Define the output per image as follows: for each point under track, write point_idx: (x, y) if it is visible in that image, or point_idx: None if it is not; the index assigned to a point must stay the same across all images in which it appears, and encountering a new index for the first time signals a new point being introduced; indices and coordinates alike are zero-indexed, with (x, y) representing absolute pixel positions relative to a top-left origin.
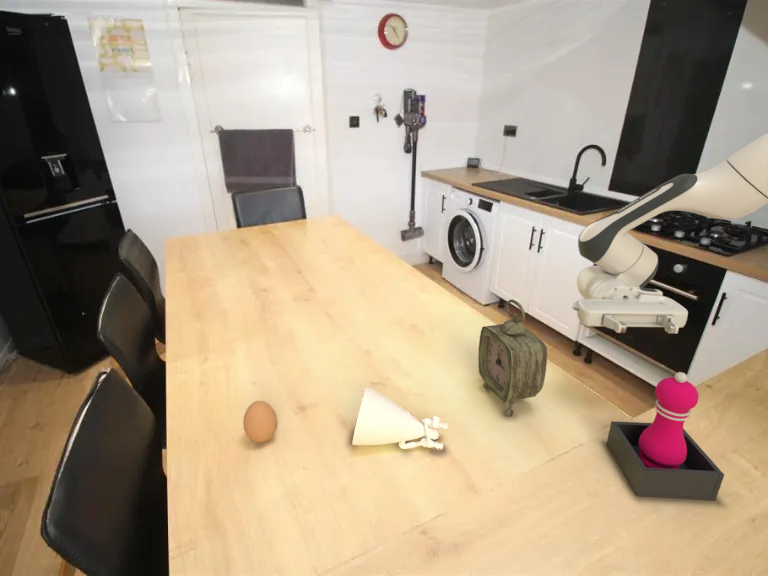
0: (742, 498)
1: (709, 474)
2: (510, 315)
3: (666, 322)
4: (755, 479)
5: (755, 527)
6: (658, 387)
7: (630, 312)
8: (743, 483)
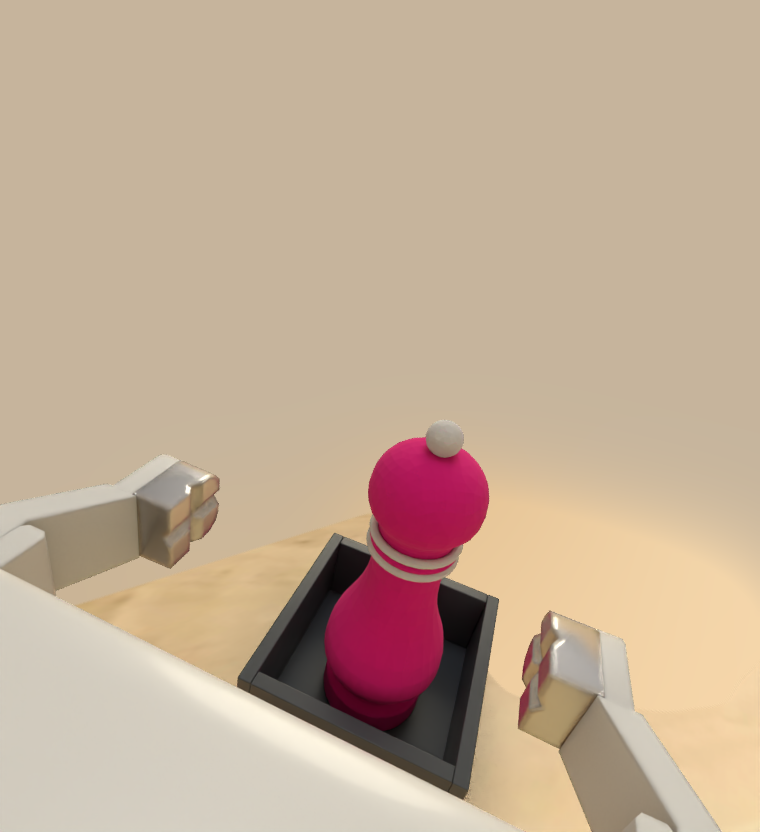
0: (265, 569)
1: (362, 544)
2: None
3: (171, 509)
4: (174, 582)
5: (317, 535)
6: (485, 506)
7: (362, 751)
8: (214, 586)
